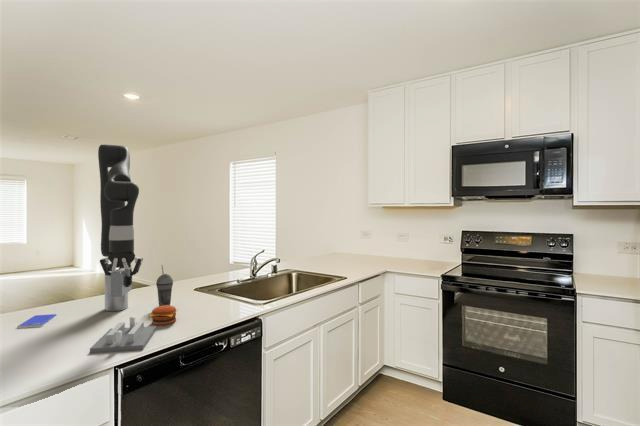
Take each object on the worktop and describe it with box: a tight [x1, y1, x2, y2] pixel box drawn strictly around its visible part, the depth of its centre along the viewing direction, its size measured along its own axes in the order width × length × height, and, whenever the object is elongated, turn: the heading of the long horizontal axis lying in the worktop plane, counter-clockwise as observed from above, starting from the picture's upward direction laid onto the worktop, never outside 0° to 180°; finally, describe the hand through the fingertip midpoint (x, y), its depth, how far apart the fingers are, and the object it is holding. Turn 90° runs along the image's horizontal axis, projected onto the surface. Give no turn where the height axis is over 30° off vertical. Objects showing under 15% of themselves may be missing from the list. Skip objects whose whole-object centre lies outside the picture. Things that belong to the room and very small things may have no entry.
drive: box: [111, 268, 133, 297], centre depth 121 cm, size 10×4×8 cm, turn 11°
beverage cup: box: [155, 264, 174, 307], centre depth 160 cm, size 7×7×20 cm
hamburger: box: [149, 305, 179, 327], centre depth 142 cm, size 9×10×7 cm
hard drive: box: [16, 313, 58, 329], centre depth 139 cm, size 2×8×12 cm
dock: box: [89, 315, 157, 354], centre depth 123 cm, size 18×16×6 cm
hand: (121, 286), depth 121 cm, fingers closed on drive, 3 cm apart
